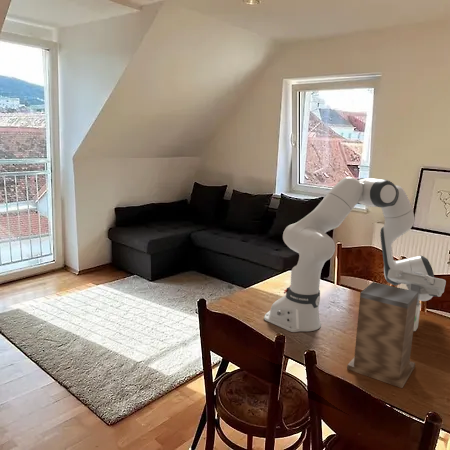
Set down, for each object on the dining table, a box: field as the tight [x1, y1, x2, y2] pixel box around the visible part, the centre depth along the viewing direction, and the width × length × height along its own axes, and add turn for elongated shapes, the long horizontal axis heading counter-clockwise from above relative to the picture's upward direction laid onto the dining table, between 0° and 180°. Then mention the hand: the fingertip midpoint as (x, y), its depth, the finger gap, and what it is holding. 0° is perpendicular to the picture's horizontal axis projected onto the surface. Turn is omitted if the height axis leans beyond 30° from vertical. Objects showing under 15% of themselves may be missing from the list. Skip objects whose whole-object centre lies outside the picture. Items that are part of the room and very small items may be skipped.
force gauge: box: [411, 272, 422, 332], centre depth 166 cm, size 4×22×4 cm
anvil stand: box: [346, 281, 418, 389], centre depth 136 cm, size 17×15×26 cm
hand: (413, 275), depth 158 cm, fingers open, 8 cm apart
